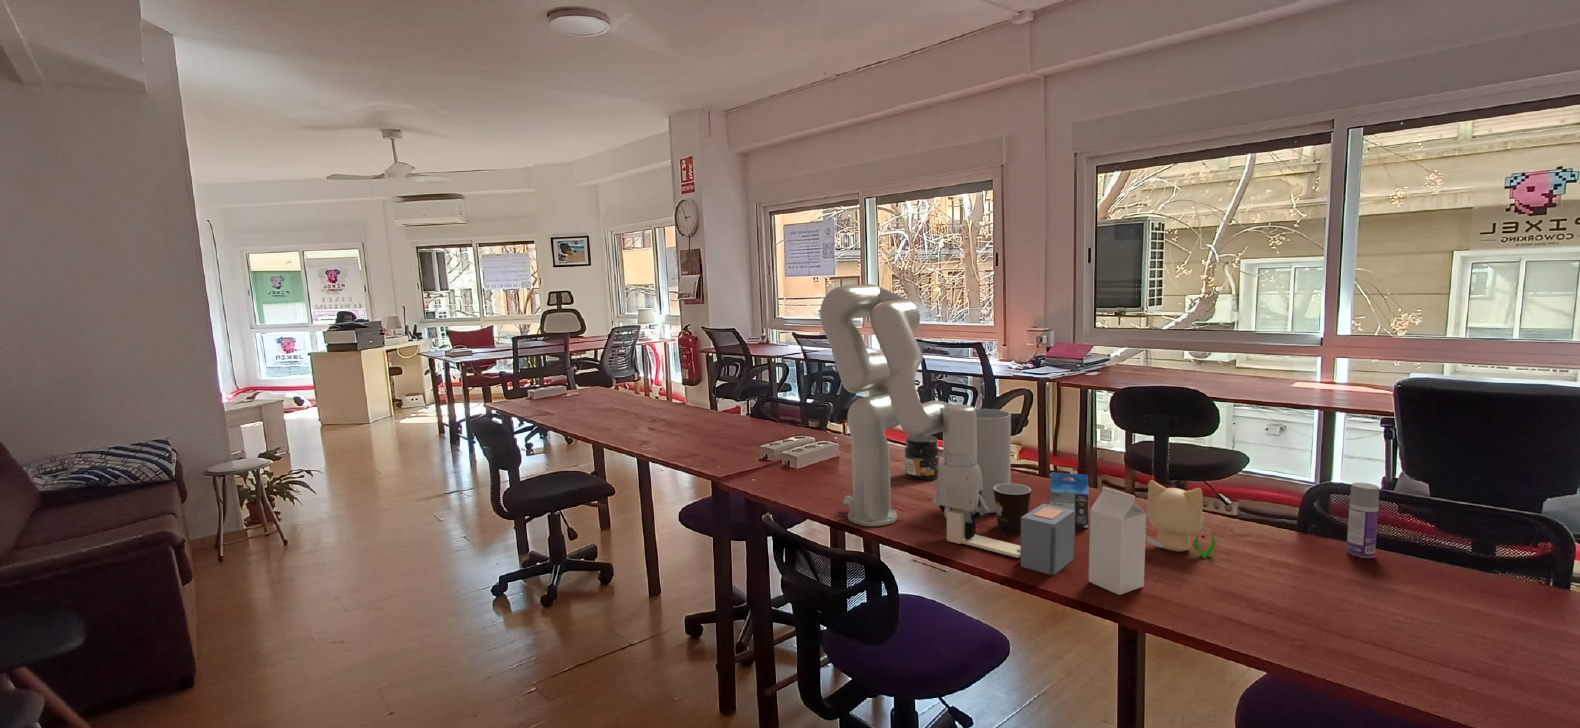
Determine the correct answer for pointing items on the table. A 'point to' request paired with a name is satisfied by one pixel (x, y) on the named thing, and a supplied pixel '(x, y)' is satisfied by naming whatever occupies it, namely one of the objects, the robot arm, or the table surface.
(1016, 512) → the coffee mug
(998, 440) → the cylinder vase
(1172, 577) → the table surface
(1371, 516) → the container
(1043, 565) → the block
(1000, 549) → the cream l-shaped bracket
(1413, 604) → the table surface
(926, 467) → the supplement container
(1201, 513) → the kitten
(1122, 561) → the milk carton
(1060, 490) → the label tape box
